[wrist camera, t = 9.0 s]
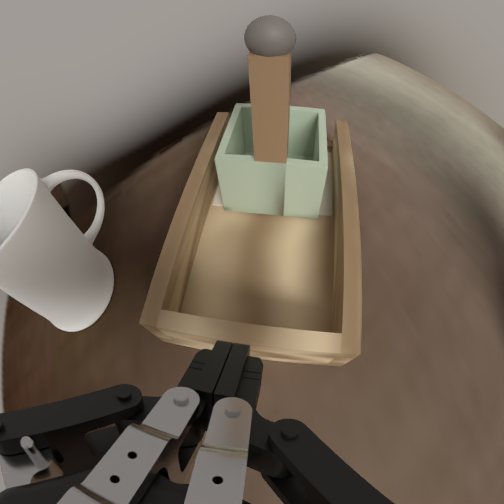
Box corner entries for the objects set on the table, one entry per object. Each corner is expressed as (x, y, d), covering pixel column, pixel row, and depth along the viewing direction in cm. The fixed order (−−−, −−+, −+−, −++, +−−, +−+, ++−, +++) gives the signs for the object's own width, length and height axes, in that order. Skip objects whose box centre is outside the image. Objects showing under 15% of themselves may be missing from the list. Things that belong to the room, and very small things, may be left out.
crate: (318, 157, 28) (334, 4, 14) (317, 222, 24) (349, 28, 10) (241, 151, 29) (225, 0, 15) (223, 213, 25) (188, 25, 11)
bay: (340, 155, 30) (347, 121, 26) (341, 366, 19) (360, 354, 15) (222, 146, 32) (217, 112, 28) (163, 341, 21) (139, 323, 17)
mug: (111, 214, 28) (58, 126, 17) (157, 259, 25) (97, 158, 14) (35, 291, 24) (-42, 226, 13) (69, 351, 20) (-33, 296, 10)
